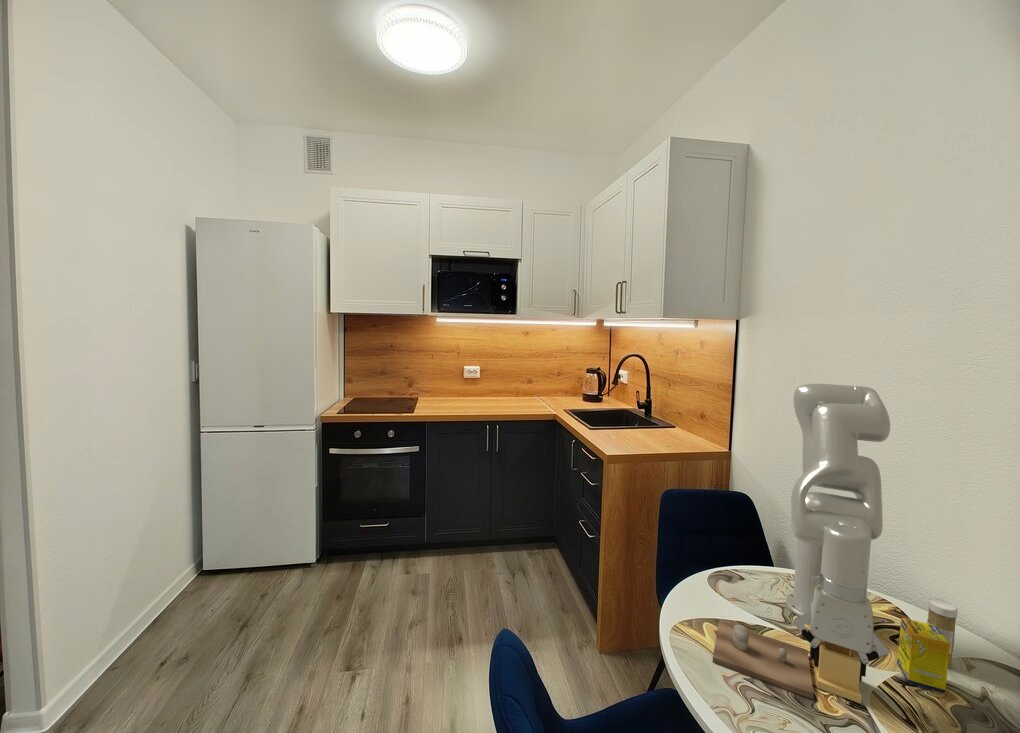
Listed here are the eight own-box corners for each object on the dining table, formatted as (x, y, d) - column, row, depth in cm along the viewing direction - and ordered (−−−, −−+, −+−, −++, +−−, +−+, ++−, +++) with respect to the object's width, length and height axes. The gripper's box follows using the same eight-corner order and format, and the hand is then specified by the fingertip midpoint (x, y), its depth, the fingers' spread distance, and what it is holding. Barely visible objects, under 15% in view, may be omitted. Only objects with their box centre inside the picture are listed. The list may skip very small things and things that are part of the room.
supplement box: (896, 663, 93) (900, 616, 93) (932, 673, 91) (936, 625, 90) (907, 683, 88) (911, 633, 87) (946, 694, 85) (951, 643, 85)
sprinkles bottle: (954, 663, 94) (960, 605, 93) (949, 671, 91) (955, 612, 90) (926, 650, 98) (931, 594, 97) (920, 658, 95) (925, 601, 94)
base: (718, 625, 105) (719, 605, 104) (806, 654, 95) (808, 632, 95) (712, 661, 93) (713, 639, 92) (813, 699, 83) (814, 674, 83)
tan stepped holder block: (861, 703, 83) (864, 667, 82) (817, 687, 86) (819, 652, 86) (847, 653, 96) (850, 622, 95) (810, 641, 100) (812, 611, 99)
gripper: (793, 582, 88) (787, 664, 89) (904, 612, 79) (895, 702, 80) (791, 566, 95) (786, 642, 96) (893, 591, 86) (886, 675, 87)
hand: (836, 669), depth 88 cm, fingers closed on tan stepped holder block, 6 cm apart
